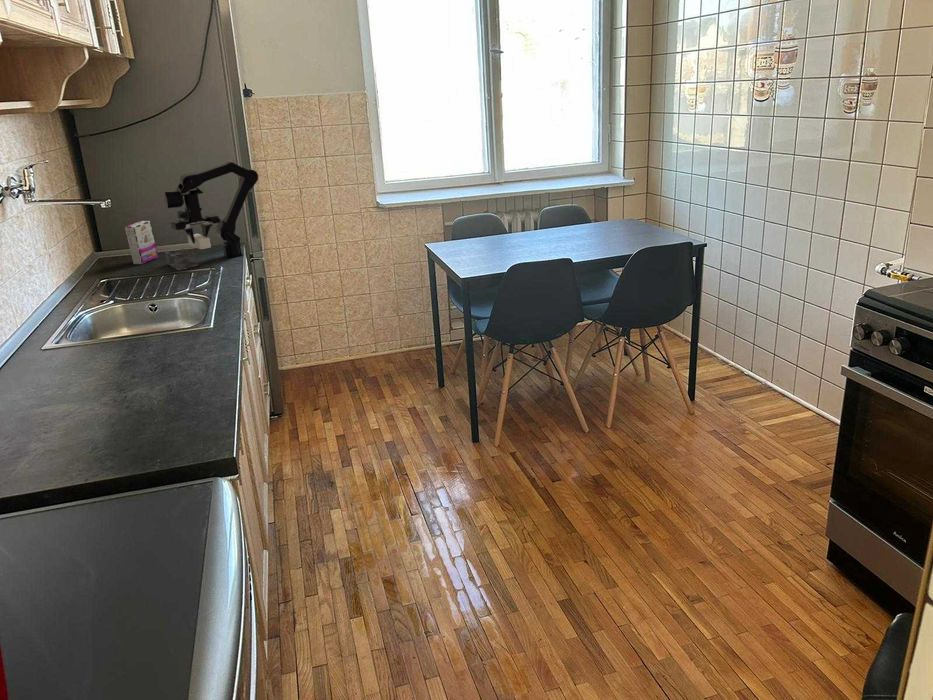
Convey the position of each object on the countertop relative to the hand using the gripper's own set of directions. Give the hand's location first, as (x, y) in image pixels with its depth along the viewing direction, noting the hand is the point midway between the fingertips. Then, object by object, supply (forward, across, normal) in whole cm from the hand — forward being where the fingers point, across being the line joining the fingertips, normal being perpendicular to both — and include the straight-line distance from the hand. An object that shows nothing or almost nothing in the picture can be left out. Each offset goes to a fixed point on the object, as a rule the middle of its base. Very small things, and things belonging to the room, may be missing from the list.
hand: (199, 242), depth 299 cm
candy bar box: (+8, +17, -20) cm, 28 cm away
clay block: (+2, 0, 0) cm, 2 cm away
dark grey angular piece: (+8, +9, 0) cm, 12 cm away
